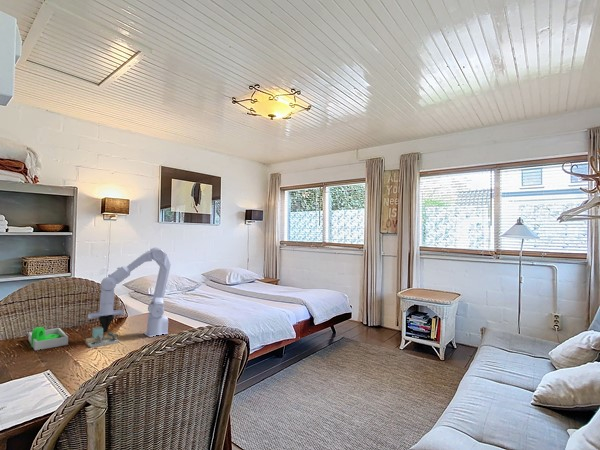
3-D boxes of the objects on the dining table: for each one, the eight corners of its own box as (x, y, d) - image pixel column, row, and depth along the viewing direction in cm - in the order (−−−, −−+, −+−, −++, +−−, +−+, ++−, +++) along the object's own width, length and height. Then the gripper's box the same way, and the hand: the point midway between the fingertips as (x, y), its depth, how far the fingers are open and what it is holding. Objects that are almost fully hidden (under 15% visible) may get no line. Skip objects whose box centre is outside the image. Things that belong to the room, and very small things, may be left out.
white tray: (59, 335, 157) (59, 327, 157) (67, 344, 145) (68, 336, 145) (28, 340, 149) (28, 332, 149) (34, 350, 137) (35, 342, 137)
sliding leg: (100, 336, 153) (101, 326, 153) (105, 340, 149) (105, 329, 149) (92, 338, 151) (92, 327, 151) (96, 342, 146) (97, 331, 146)
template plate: (115, 339, 154) (115, 337, 154) (118, 342, 151) (119, 340, 151) (87, 345, 146) (87, 342, 146) (90, 348, 142) (90, 345, 142)
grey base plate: (115, 337, 158) (116, 331, 158) (120, 340, 153) (121, 334, 154) (84, 342, 149) (85, 336, 149) (89, 346, 144) (89, 339, 144)
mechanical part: (45, 347, 141) (46, 329, 141) (31, 347, 141) (31, 329, 141) (62, 338, 153) (63, 321, 153) (49, 338, 153) (49, 321, 153)
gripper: (120, 299, 162) (118, 327, 161) (86, 303, 151) (84, 332, 151) (125, 302, 157) (123, 330, 156) (91, 305, 146) (89, 336, 146)
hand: (104, 331), depth 153 cm, fingers closed
